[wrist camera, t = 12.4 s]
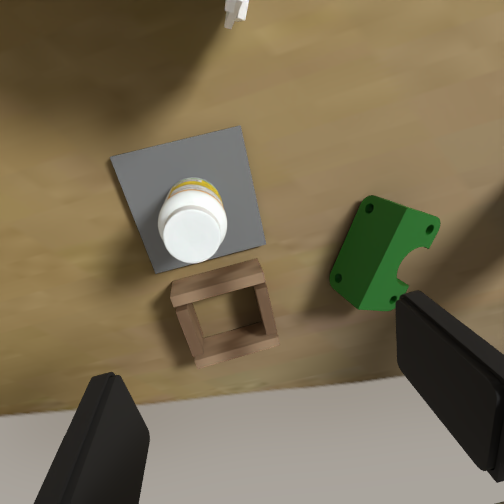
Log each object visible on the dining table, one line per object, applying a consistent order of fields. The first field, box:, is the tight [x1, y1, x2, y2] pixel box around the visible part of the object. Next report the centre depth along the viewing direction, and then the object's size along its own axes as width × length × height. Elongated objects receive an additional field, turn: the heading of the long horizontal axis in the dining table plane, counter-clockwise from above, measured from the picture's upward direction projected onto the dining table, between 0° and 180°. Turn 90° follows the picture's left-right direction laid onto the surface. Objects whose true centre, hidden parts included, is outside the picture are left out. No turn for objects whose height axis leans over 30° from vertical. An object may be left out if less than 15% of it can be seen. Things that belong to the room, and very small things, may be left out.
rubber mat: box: [110, 126, 266, 274], centre depth 30 cm, size 12×12×1 cm
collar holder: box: [170, 258, 280, 369], centre depth 34 cm, size 10×10×4 cm
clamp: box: [330, 195, 440, 311], centre depth 34 cm, size 12×6×9 cm, turn 157°
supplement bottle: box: [158, 178, 227, 263], centre depth 26 cm, size 5×5×10 cm
